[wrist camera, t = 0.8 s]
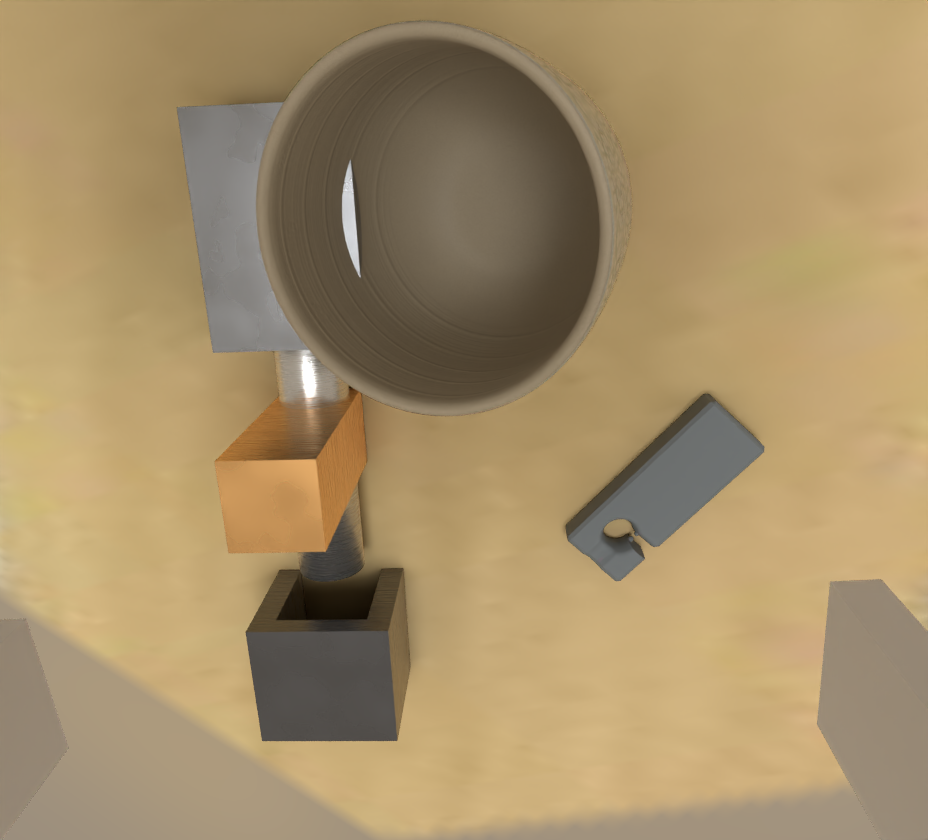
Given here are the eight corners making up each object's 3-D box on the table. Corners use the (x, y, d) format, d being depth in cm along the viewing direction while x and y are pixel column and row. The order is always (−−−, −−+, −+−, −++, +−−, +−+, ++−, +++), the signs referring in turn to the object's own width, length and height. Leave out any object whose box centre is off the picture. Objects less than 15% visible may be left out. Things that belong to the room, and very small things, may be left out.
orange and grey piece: (261, 194, 36) (174, 201, 26) (343, 191, 35) (287, 197, 26) (303, 550, 41) (245, 662, 32) (374, 549, 41) (337, 661, 32)
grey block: (222, 116, 35) (176, 107, 30) (367, 110, 34) (345, 99, 29) (250, 329, 38) (212, 352, 33) (383, 325, 37) (366, 348, 32)
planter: (537, 388, 36) (461, 484, 27) (343, 227, 37) (201, 265, 27) (719, 175, 30) (705, 200, 21) (485, -16, 31) (366, -76, 21)
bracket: (756, 437, 39) (769, 450, 37) (613, 567, 42) (618, 585, 40) (703, 388, 38) (714, 399, 36) (562, 523, 41) (564, 540, 39)
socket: (279, 570, 42) (245, 632, 36) (403, 568, 42) (388, 631, 36) (292, 667, 44) (262, 741, 38) (410, 666, 44) (397, 740, 38)
